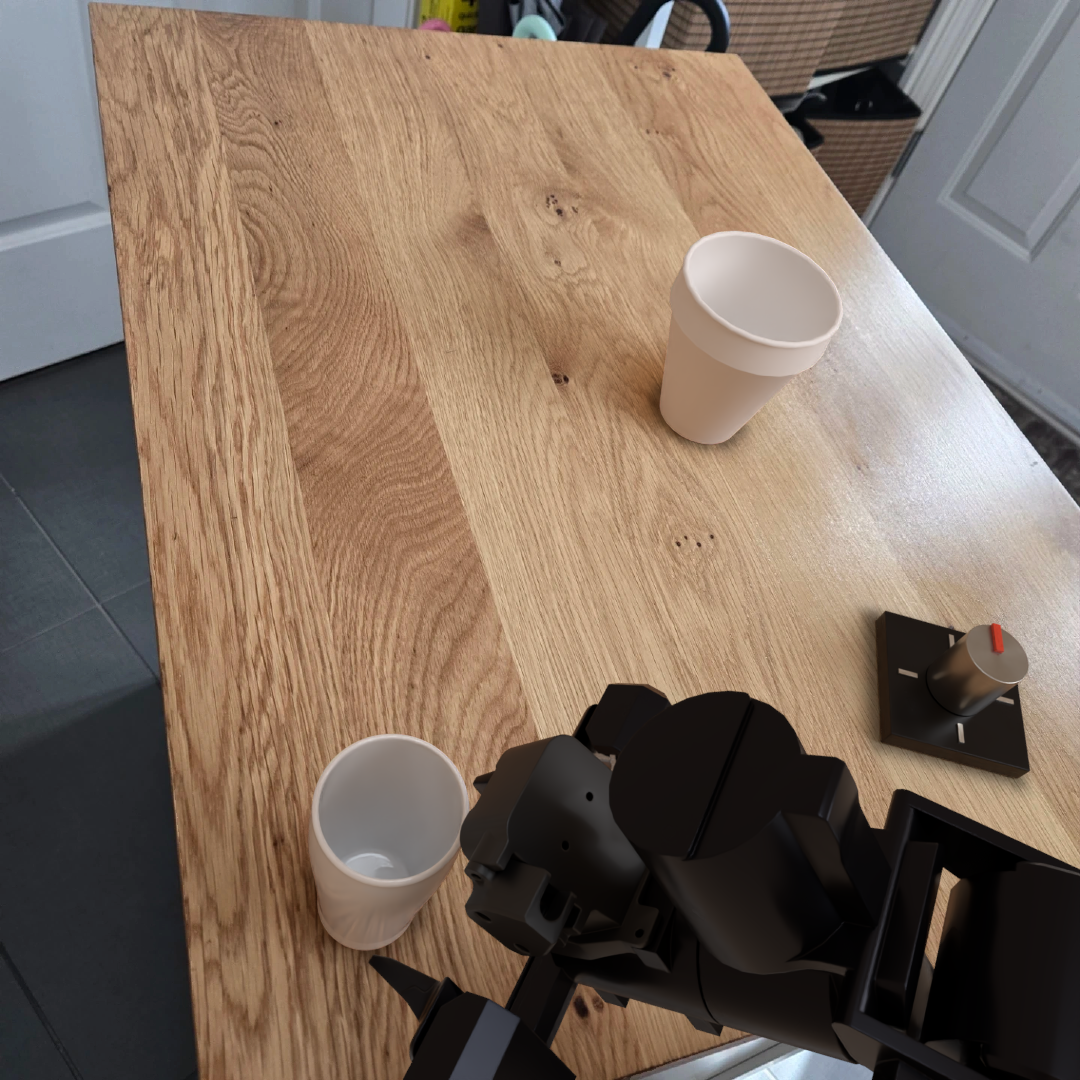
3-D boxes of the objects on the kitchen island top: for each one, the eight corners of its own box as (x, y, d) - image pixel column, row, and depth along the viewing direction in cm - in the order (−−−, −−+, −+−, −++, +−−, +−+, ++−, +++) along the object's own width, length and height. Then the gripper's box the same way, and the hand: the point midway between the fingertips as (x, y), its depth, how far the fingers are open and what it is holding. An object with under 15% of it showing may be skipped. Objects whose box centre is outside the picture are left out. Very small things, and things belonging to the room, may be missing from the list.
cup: (666, 338, 84) (723, 207, 74) (789, 408, 83) (866, 284, 72) (601, 417, 77) (654, 284, 66) (734, 496, 75) (811, 373, 65)
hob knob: (988, 723, 66) (1036, 688, 62) (928, 706, 66) (972, 671, 62) (981, 668, 69) (1027, 631, 65) (924, 652, 69) (966, 614, 64)
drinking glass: (283, 945, 50) (283, 859, 38) (329, 823, 54) (343, 710, 42) (407, 984, 50) (446, 909, 39) (444, 859, 55) (490, 757, 43)
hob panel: (1017, 779, 66) (1032, 770, 65) (880, 742, 65) (892, 732, 64) (1000, 655, 72) (1014, 644, 71) (875, 620, 71) (886, 608, 70)
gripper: (738, 590, 36) (441, 599, 46) (507, 1106, 25) (180, 969, 34) (833, 776, 41) (549, 748, 51) (678, 1266, 30) (354, 1109, 40)
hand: (429, 869), depth 44 cm, fingers open, 9 cm apart
